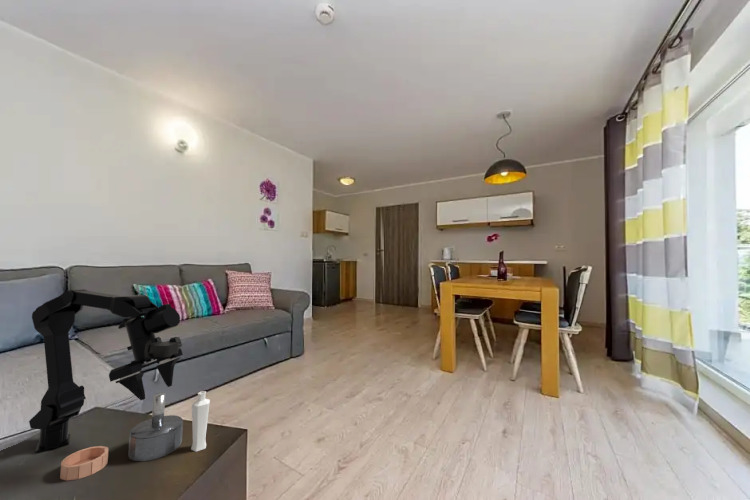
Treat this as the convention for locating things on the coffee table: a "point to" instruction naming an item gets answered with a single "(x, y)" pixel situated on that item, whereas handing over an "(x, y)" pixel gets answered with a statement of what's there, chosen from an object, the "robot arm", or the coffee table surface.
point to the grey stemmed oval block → (155, 433)
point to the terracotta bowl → (84, 463)
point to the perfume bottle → (199, 421)
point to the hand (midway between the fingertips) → (157, 392)
